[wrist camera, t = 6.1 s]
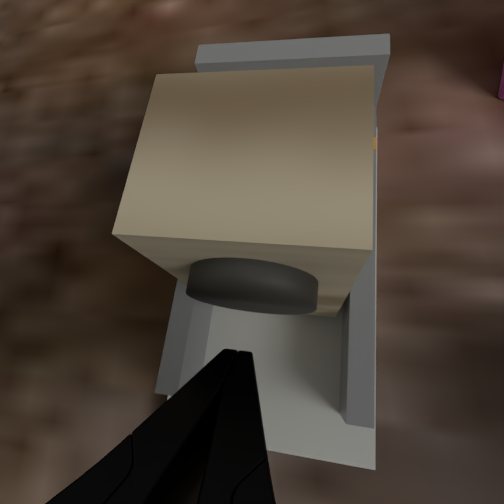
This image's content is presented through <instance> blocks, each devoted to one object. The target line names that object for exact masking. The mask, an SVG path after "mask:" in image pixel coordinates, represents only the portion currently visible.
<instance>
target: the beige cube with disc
mask: <svg viewBox="0 0 504 504" xmlns="http://www.w3.org/2000/svg"><path fill="white" fill-rule="evenodd" d="M373 146H374V65H365V66H341V67H318V68H294V69H271V70H247V71H224V72H200V73H177V74H156V78H155V82H154V85H153V89H152V92H151V96H150V99H149V103H148V106H147V110H146V114H145V117H144V121H143V124H142V128H141V131H140V135H139V139H138V142H137V146H136V149H135V153H134V156H133V160H132V163H131V167H130V171H129V174H128V178H127V181H126V185H125V188H124V192H123V195H122V199H121V203H120V206H119V210H118V213H117V217H116V220H115V224H114V228H113V231H112V234H113V235H114V236H116V237H117V238H119V239H120V240H121V241H123V242H124V243H126V244H127V245H129V246H130V247H132V248H133V249H135V250H136V251H138V252H139V253H141V254H142V255H144V256H145V257H147V258H148V259H150V260H151V261H152V262H154V263H155V264H157V265H158V266H160V267H161V268H163V269H164V270H166V271H167V272H169V273H170V274H172V275H173V276H175V277H176V278H178V279H179V280H181V281H182V282H183V283H185V284H186V285H187V288H186V294H187V295H188V296H189V297H191V298H193V299H195V300H198V301H201V302H204V303H207V304H211V305H215V306H219V307H224V308H229V309H235V310H241V311H248V312H256V313H266V314H281V315H299V314H301V315H311V316H321V317H330V318H335V317H336V315H337V313H338V312H339V310H340V308H341V306H342V304H343V303H344V301H345V299H346V297H347V295H348V293H349V292H350V290H351V288H352V286H353V284H354V283H355V281H356V279H357V277H358V275H359V274H360V272H361V270H362V268H363V266H364V264H365V263H366V261H367V259H368V257H369V255H370V254H371V252H372V250H373Z"/></svg>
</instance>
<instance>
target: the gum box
mask: <svg viewBox="0 0 504 504" xmlns="http://www.w3.org/2000/svg"><path fill="white" fill-rule="evenodd" d="M498 97H499V99H503V100H504V62H503V70H502V76H501V82H500V87H499V93H498Z"/></svg>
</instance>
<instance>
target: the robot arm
mask: <svg viewBox="0 0 504 504" xmlns="http://www.w3.org/2000/svg"><path fill="white" fill-rule="evenodd" d="M45 504H276V502H275V497H274V491H273V486H272V480H271V474H270V468H269V461H268V455H267V448H266V441H265V434H264V428H263V421H262V414H261V407H260V400H259V393H258V386H257V380H256V373H255V366H254V359H253V353H252V352H250V351H242V350H240V351H237V350H234V349H223V350H222V351H221V352H219V353H218V354H217V355H216V356H215V357H214V358H213V359H212V360H211V361H210V362H209V363H207V364H206V365H205V366H204V367H203V368H202V369H201V370H200V371H199V372H198V373H196V374H195V375H194V376H193V377H192V378H191V379H190V380H189V381H188V382H187V383H186V384H184V385H183V386H182V387H181V388H180V389H179V390H178V391H177V392H176V393H175V394H173V395H172V396H171V397H170V398H169V399H168V400H167V401H166V402H165V403H164V404H162V405H161V406H160V407H159V408H158V409H157V410H156V411H155V412H154V413H153V414H152V415H150V416H149V417H148V418H147V419H146V420H145V421H144V422H143V423H142V424H141V425H139V426H138V427H137V428H136V429H135V430H134V431H133V432H132V434H130V435H128V436H127V437H126V438H125V439H124V440H123V441H122V442H121V443H120V444H118V445H117V446H116V447H115V448H114V449H113V450H112V451H110V452H109V453H108V454H107V455H106V456H105V457H104V458H102V459H101V460H100V461H99V462H98V463H97V464H95V465H94V466H93V467H92V468H90V469H89V470H88V471H87V472H85V473H84V474H83V475H82V476H80V477H79V478H78V479H77V480H75V481H74V482H73V483H71V484H70V485H69V486H68V487H66V488H65V489H64V490H62V491H61V492H60V493H58V494H57V495H56V496H55V497H53V498H52V499H51V500H49V501H48V502H47V503H45Z"/></svg>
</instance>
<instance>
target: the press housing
mask: <svg viewBox="0 0 504 504" xmlns="http://www.w3.org/2000/svg"><path fill="white" fill-rule="evenodd" d="M389 57H390V34H374V35H357V36H340V37H323V38H307V39H290V40H273V41H257V42H240V43H223V44H206V45H199V47H198V51H197V55H196V60H195V66H196V69H197V72H198V73H200V72H224V71H247V70H271V69H294V68H318V67H341V66H365V65H374V146H373V250H372V252H371V254H370V255H369V257H368V259H367V261H366V263H365V264H364V266H363V268H362V270H361V272H360V274H359V275H358V277H357V279H356V281H355V283H354V284H353V286H352V288H351V290H350V292H349V293H348V295H347V297H346V299H345V301H344V303H343V304H342V306H341V308H340V310H339V312H338V313H337V315H336V317H335V318H330V317H321V316H311V315H301V314H299V315H281V314H266V313H256V312H248V311H241V310H235V309H229V308H224V307H219V306H215V305H211V304H207V303H204V302H201V301H198V300H195V299H193V298H191V297H189V296H188V295H187V294H186V288H187V285H186V284H185V283H183V282H182V281H181V280H179V279H177V284H176V289H175V294H174V299H173V304H172V309H171V314H170V319H169V324H168V329H167V334H166V339H165V343H164V348H163V353H162V358H161V363H160V368H159V373H158V378H157V383H156V388H155V393H157V394H164V395H168V397H167V400H168V399H169V398H170V397H171V396H172V395H173V394H175V393H176V392H177V391H178V390H179V389H180V388H181V387H182V386H183V385H184V384H186V383H187V382H188V381H189V380H190V379H191V378H192V377H193V376H194V375H195V374H196V373H198V372H199V371H200V370H201V369H202V368H203V367H204V366H205V365H206V364H207V363H209V362H210V361H211V360H212V359H213V358H214V357H215V356H216V355H217V354H218V353H219V352H221V351H222V350H223V349H234V350H237V351H240V350H242V351H250V352H252V353H253V359H254V366H255V373H256V380H257V386H258V393H259V400H260V407H261V414H262V421H263V428H264V434H265V441H266V448H267V450H269V451H275V452H280V453H285V454H291V455H296V456H301V457H307V458H312V459H318V460H323V461H328V462H334V463H339V464H345V465H350V466H355V467H361V468H366V469H371V470H375V431H376V249H377V128H376V106H377V102H378V99H379V95H380V91H381V87H382V83H383V80H384V76H385V72H386V68H387V64H388V61H389Z"/></svg>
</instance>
